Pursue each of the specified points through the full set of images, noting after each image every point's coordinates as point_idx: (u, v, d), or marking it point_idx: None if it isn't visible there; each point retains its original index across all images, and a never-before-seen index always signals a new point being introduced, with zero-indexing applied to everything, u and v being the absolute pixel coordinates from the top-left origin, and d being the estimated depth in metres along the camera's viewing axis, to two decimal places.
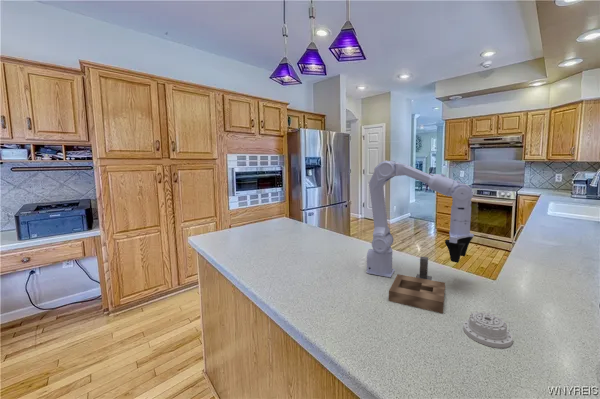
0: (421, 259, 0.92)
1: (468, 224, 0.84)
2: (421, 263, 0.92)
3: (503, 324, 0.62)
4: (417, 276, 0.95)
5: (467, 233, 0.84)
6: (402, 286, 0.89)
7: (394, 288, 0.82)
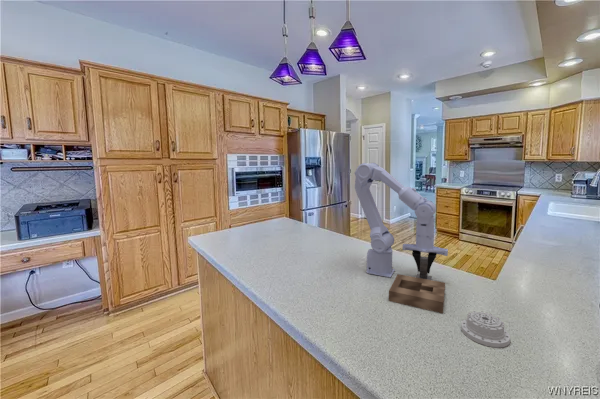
0: (421, 259, 0.92)
1: (420, 239, 0.90)
2: (421, 263, 0.92)
3: (500, 324, 0.62)
4: (417, 276, 0.95)
5: (420, 247, 0.91)
6: (402, 286, 0.89)
7: (394, 288, 0.82)
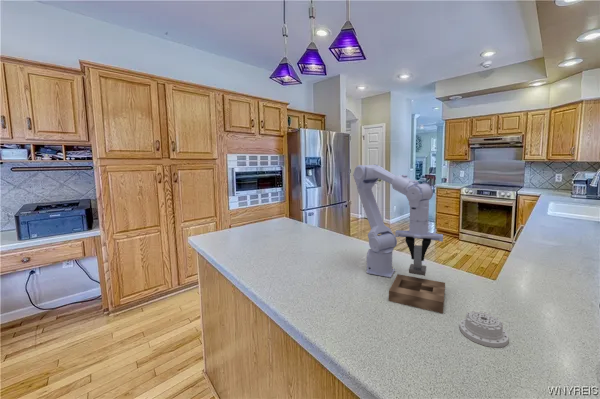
0: (415, 248, 0.87)
1: (414, 224, 0.85)
2: (415, 252, 0.87)
3: (499, 324, 0.62)
4: (411, 266, 0.90)
5: (413, 233, 0.85)
6: (402, 286, 0.89)
7: (394, 288, 0.82)
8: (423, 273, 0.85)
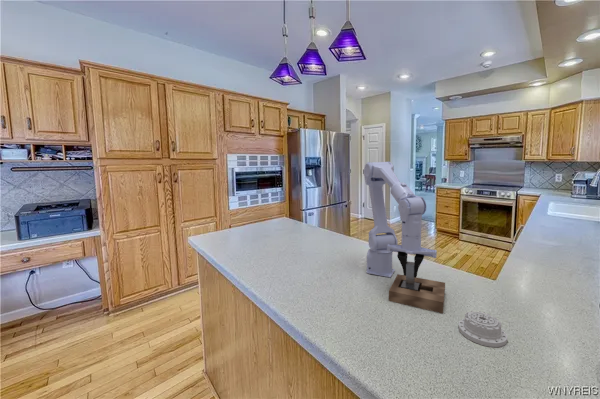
0: (407, 265, 0.83)
1: (406, 239, 0.81)
2: (407, 269, 0.83)
3: (498, 324, 0.62)
4: (403, 283, 0.86)
5: (405, 248, 0.81)
6: None
7: (394, 288, 0.82)
8: None
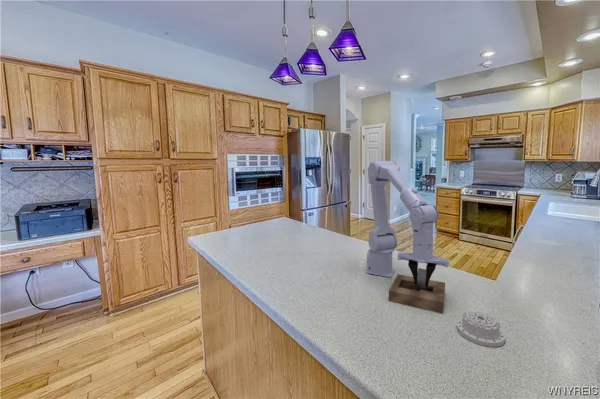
0: (419, 271, 0.82)
1: (418, 248, 0.79)
2: (419, 276, 0.82)
3: (496, 323, 0.62)
4: None
5: (417, 257, 0.80)
6: (402, 286, 0.89)
7: (394, 288, 0.82)
8: None
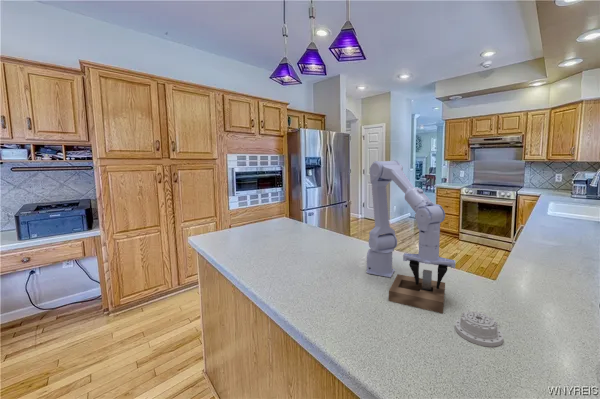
0: (424, 273, 0.81)
1: (424, 249, 0.78)
2: (424, 277, 0.81)
3: (494, 323, 0.62)
4: None
5: (423, 258, 0.79)
6: (402, 286, 0.89)
7: (394, 288, 0.82)
8: None
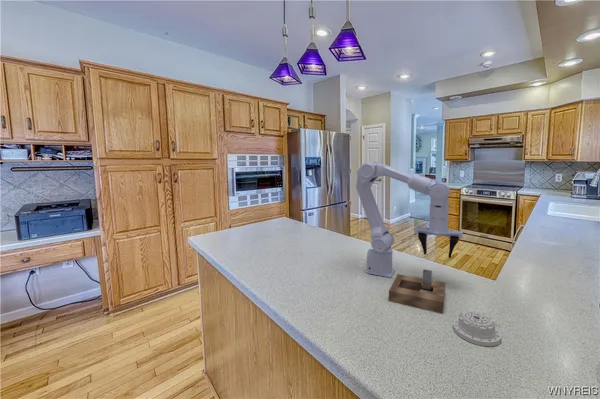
0: (424, 273, 0.81)
1: (434, 221, 0.88)
2: (424, 277, 0.81)
3: (491, 323, 0.62)
4: None
5: (433, 230, 0.88)
6: (402, 286, 0.89)
7: (394, 288, 0.82)
8: None
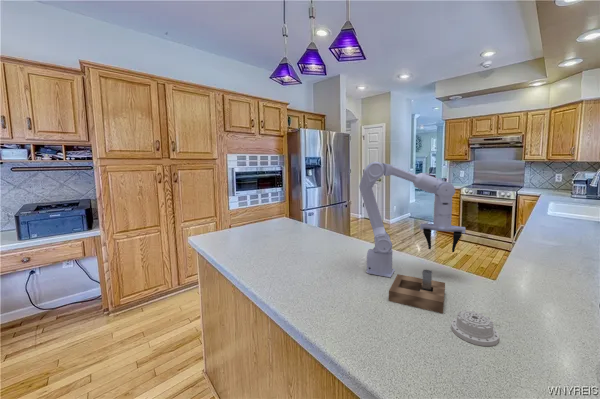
0: (424, 273, 0.81)
1: (439, 218, 0.93)
2: (424, 277, 0.81)
3: (489, 323, 0.62)
4: None
5: (438, 226, 0.94)
6: (402, 286, 0.89)
7: (394, 288, 0.82)
8: None
